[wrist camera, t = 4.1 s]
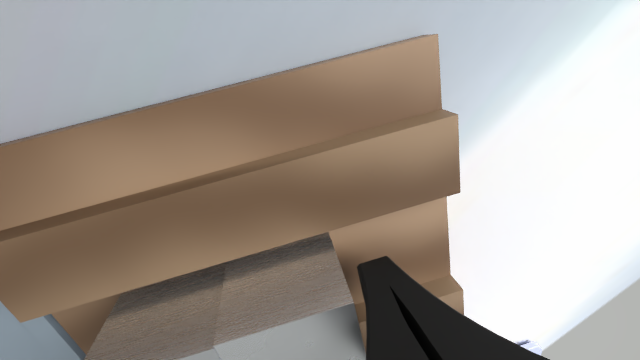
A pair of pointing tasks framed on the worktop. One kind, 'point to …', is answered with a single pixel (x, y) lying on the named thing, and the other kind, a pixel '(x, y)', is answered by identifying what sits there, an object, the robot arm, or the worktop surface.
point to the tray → (35, 339)
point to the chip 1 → (164, 320)
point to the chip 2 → (288, 306)
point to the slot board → (235, 185)
